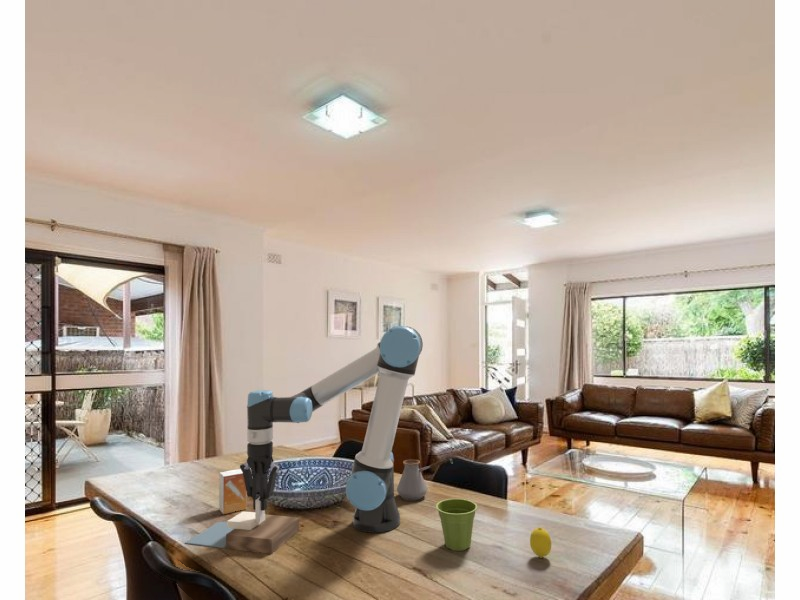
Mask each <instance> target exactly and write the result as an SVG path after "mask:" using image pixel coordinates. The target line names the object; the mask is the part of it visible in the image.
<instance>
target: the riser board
mask: <svg viewBox="0 0 800 600" xmlns="http://www.w3.org/2000/svg"><path fill="white" fill-rule="evenodd" d="M299 531H300V517H295V516H284V515H276V514H275V515H274V514H266V513H265V520H264V521H263V522H261V523H260V524H258V525H257V526H256V527H254V528H253V529H251V530H244V529H233V530H232V531H230V532H229V533H227V534H226V547H225V549H227V550H234V549H235V551H242V550H244V552H250V551H253V552H252V553H259V552H262V553H261V554H267V553H269V554H270V555H273V554H274V553H275V552H276V551H278V549H280V548H281V547H282V546H283V545H284V544H285V543H287V540H288V541H289V540H290V539H291V538H293V537H294V536H295V535H296V534H297V533H299ZM281 545H282V546H281ZM280 546H281V547H280ZM273 552H274V553H273ZM269 554H268V555H269Z"/></svg>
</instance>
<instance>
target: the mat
mask: <svg viewBox="0 0 800 600" xmlns="http://www.w3.org/2000/svg"><path fill="white" fill-rule="evenodd" d="M232 530H233V529H232V528H227V521H218V522H216V523H215V524H213V525H211V526H209V527H207V528H206V529H205V530H203V531H202V532H199V533H198V534H197V535H195V536H193V537H192V538H190V539H188V540H186V541H185V542H184V544H187V545H193V546H194V545H195V546H201V547H202V546H204V547H210V548H219V549H226V534H227V533H229V532H230V531H232Z"/></svg>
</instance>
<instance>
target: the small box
mask: <svg viewBox="0 0 800 600" xmlns="http://www.w3.org/2000/svg"><path fill="white" fill-rule="evenodd" d="M218 480H219V481H218V482H219V483H218V485H219V486H218V491H219V492H218V508H219V509H218V510H219V511H220V512H221V513H222V515H226V514H231V513H235V511H236V512H240V510H241V511H245V510H244V509H246V510H247V492H246V487H245V482H244V477H243V472H242V470H241V468H238V469H232V470H226V471H221V472H219V478H218Z"/></svg>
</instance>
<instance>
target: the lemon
mask: <svg viewBox="0 0 800 600" xmlns="http://www.w3.org/2000/svg"><path fill="white" fill-rule="evenodd" d="M529 545H530V549H531V551H532V553H533V554H535V555H536V556H537V557H539V558H540V559H543V558H544V557H547V556H548V555H549V554H550V553H551V551H552V539H551V536H550V533H549V532H548V531H547V530H546V529H544V528H542V527H541V526H538V527H537V528H534V529H533V530H532V532H531V534H530V537H529Z"/></svg>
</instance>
